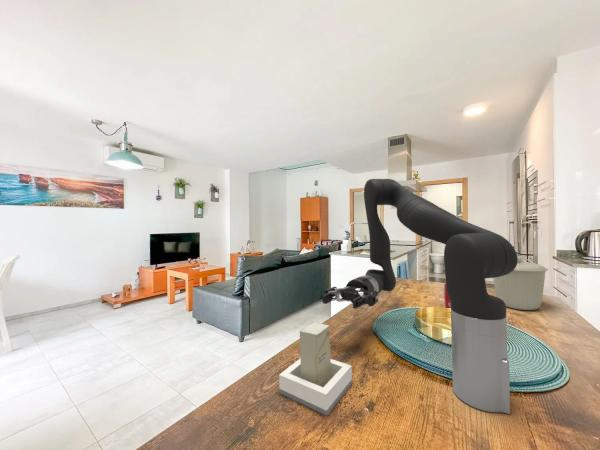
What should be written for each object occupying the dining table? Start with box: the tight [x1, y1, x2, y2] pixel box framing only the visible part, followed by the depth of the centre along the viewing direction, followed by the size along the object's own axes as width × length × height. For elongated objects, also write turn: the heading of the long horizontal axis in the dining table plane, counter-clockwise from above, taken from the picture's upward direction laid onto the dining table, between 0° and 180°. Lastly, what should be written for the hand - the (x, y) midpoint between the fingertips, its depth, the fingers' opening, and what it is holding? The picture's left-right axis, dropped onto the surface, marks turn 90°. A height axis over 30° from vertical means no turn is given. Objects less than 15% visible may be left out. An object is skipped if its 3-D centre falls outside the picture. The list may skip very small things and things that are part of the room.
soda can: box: [443, 281, 451, 309], centre depth 100 cm, size 7×7×12 cm
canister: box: [492, 254, 549, 311], centre depth 104 cm, size 18×18×21 cm
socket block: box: [278, 358, 353, 417], centre depth 55 cm, size 12×12×4 cm
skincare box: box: [299, 321, 331, 387], centre depth 55 cm, size 6×4×12 cm
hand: (338, 302), depth 64 cm, fingers open, 8 cm apart
